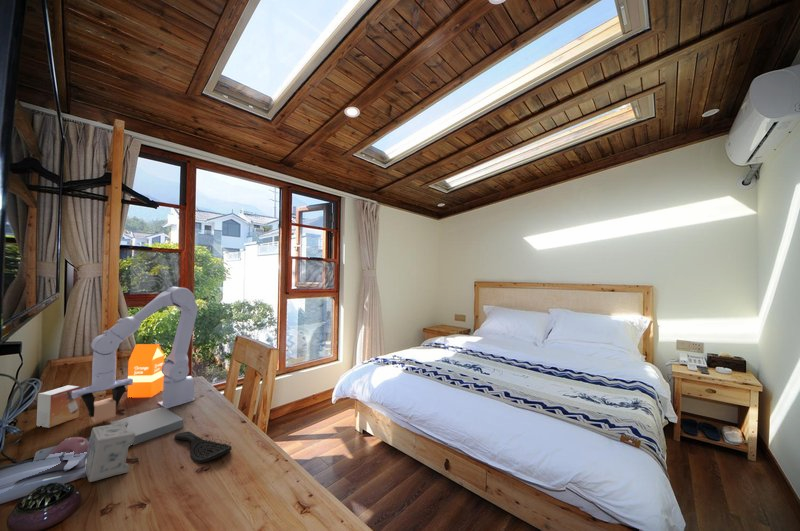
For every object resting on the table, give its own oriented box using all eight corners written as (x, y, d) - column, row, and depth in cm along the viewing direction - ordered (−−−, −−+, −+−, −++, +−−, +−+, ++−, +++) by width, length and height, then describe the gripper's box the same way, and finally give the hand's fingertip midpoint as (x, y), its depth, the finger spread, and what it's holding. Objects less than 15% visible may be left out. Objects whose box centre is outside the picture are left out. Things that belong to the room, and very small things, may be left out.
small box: (48, 428, 98) (49, 395, 98) (35, 426, 99) (36, 393, 99) (79, 416, 106) (80, 386, 106) (67, 415, 107) (68, 384, 107)
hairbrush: (191, 421, 99) (239, 440, 87) (191, 433, 99) (239, 453, 87) (161, 433, 92) (208, 455, 80) (161, 445, 92) (208, 470, 79)
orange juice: (141, 390, 130) (142, 342, 130) (163, 389, 131) (165, 342, 131) (126, 397, 122) (128, 346, 122) (151, 397, 123) (152, 346, 123)
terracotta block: (110, 412, 106) (111, 397, 106) (115, 416, 103) (115, 401, 103) (90, 418, 101) (90, 402, 101) (94, 422, 99) (95, 406, 99)
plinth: (163, 413, 109) (163, 406, 109) (183, 427, 100) (183, 419, 100) (110, 430, 98) (110, 422, 98) (127, 447, 89) (127, 438, 89)
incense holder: (134, 470, 79) (136, 429, 79) (88, 488, 72) (90, 443, 72) (126, 455, 85) (127, 417, 85) (83, 470, 79) (84, 429, 79)
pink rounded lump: (83, 471, 81) (99, 440, 84) (62, 473, 77) (79, 440, 80) (60, 463, 84) (76, 434, 87) (39, 464, 80) (57, 433, 83)
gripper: (128, 363, 111) (127, 402, 110) (69, 375, 98) (68, 417, 98) (135, 367, 107) (134, 407, 106) (75, 379, 95) (74, 424, 94)
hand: (103, 412), depth 102 cm, fingers closed on terracotta block, 5 cm apart
